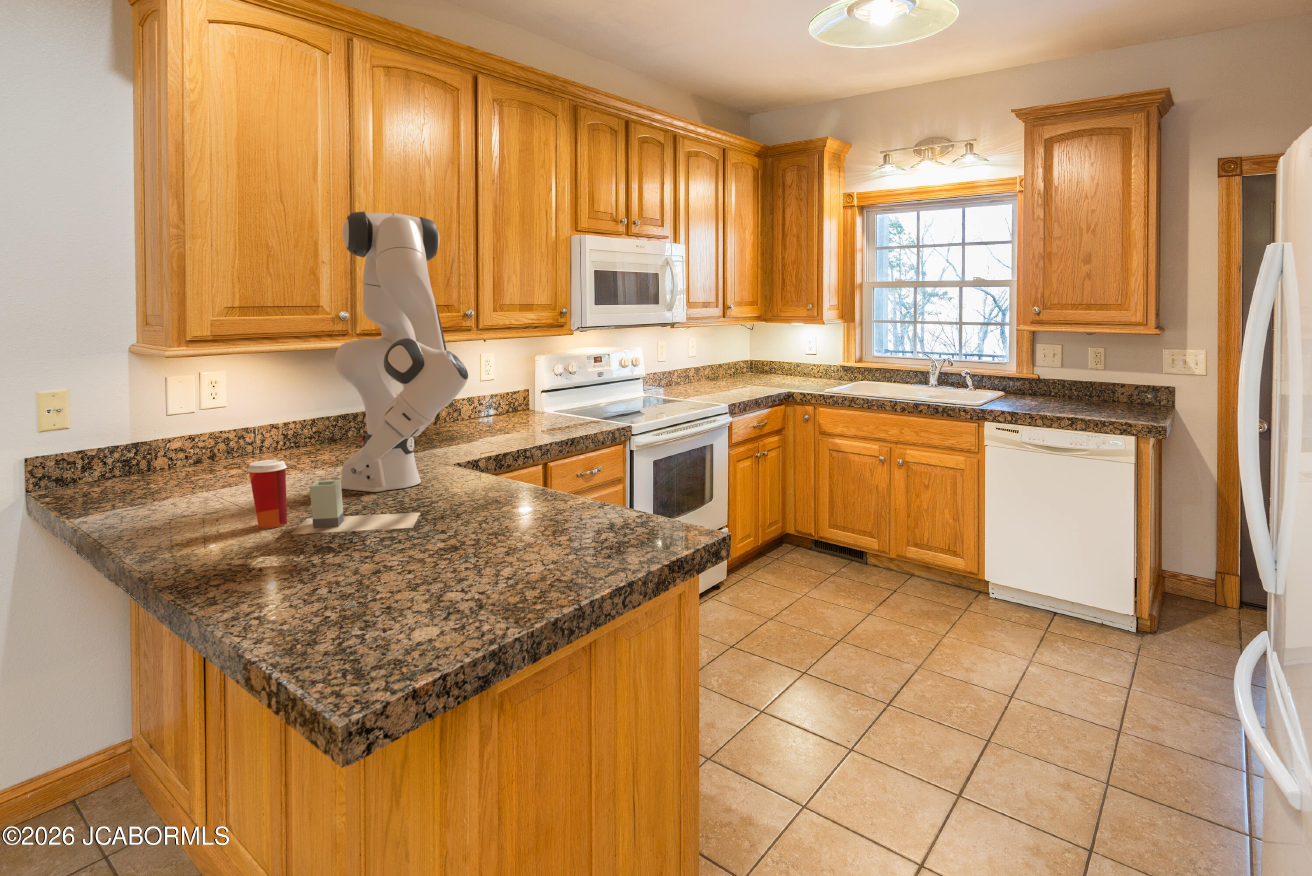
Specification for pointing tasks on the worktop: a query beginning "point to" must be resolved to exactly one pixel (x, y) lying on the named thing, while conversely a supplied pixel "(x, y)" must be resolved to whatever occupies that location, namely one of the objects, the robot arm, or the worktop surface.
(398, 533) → the worktop surface
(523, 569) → the worktop surface
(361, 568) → the worktop surface
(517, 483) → the worktop surface
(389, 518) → the pin board
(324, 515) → the sleeve
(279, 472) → the paper cup
